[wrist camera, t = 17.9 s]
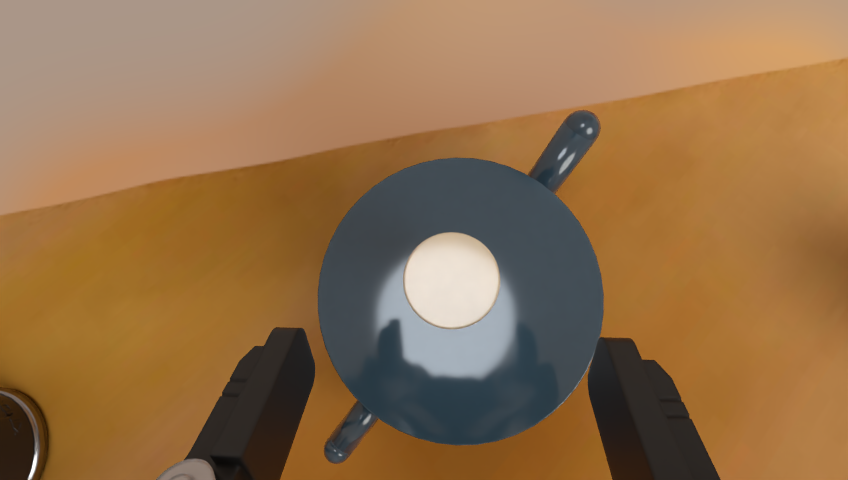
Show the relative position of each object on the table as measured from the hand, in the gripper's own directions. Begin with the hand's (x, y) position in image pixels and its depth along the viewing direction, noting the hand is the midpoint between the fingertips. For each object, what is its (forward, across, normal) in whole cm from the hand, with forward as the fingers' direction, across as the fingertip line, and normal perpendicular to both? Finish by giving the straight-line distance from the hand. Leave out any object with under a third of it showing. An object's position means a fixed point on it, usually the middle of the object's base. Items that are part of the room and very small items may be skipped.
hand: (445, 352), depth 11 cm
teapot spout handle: (+13, -1, +10) cm, 16 cm away
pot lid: (+7, 0, +5) cm, 9 cm away
